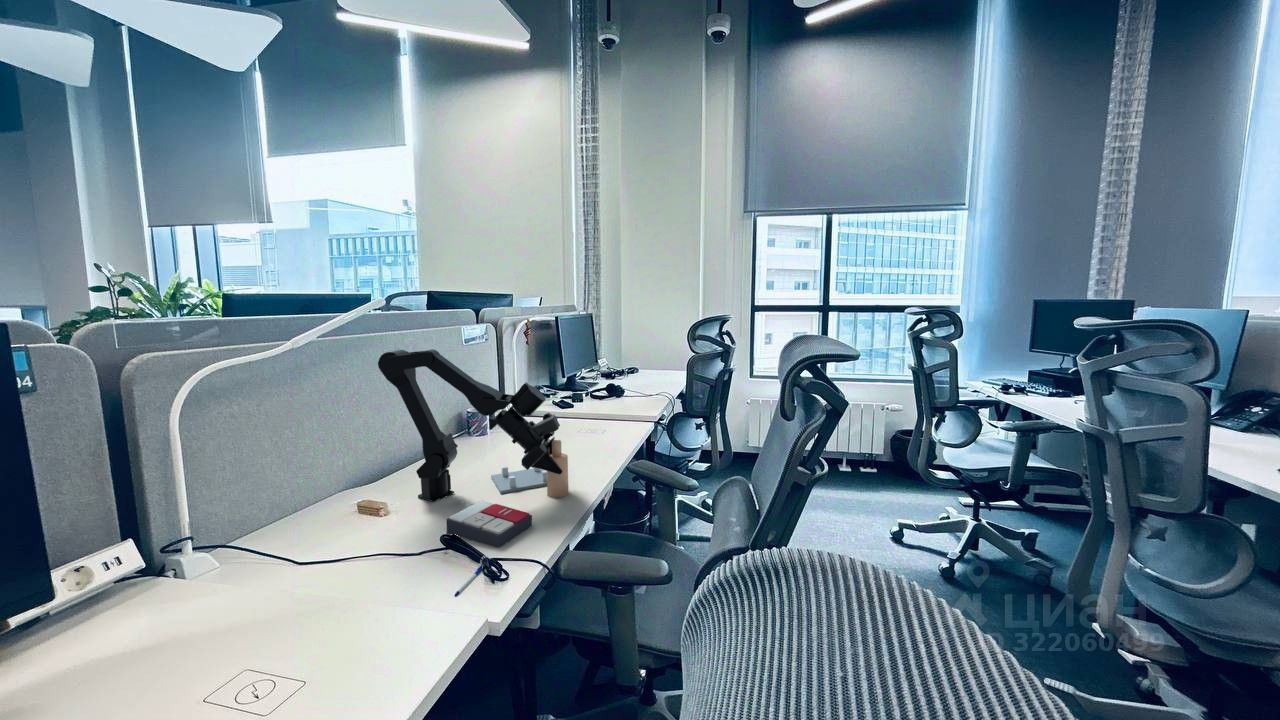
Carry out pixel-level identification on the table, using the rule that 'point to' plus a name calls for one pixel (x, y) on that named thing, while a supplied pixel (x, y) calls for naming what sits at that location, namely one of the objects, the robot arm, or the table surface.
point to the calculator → (489, 523)
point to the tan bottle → (558, 482)
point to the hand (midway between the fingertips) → (562, 469)
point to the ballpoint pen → (469, 580)
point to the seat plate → (519, 479)
